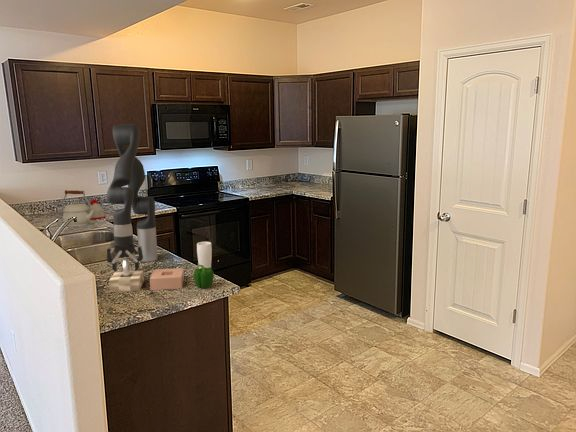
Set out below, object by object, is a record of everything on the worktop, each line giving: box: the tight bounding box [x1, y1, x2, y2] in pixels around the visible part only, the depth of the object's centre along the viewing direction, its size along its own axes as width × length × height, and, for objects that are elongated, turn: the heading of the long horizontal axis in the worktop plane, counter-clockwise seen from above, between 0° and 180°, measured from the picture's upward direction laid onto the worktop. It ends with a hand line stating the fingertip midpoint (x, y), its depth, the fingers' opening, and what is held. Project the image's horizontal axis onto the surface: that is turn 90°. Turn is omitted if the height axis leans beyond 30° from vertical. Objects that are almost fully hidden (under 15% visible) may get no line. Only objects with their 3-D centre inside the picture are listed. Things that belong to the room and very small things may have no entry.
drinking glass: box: [196, 241, 213, 269], centre depth 207 cm, size 7×7×15 cm
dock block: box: [149, 267, 185, 291], centre depth 195 cm, size 13×13×5 cm
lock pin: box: [121, 258, 131, 277], centre depth 191 cm, size 3×3×12 cm
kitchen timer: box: [87, 198, 106, 221], centre depth 343 cm, size 14×14×15 cm
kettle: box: [60, 189, 95, 228], centre depth 318 cm, size 25×18×25 cm
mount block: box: [108, 270, 145, 293], centre depth 192 cm, size 12×12×5 cm
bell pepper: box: [193, 264, 215, 289], centre depth 191 cm, size 8×8×10 cm
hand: (126, 270), depth 191 cm, fingers open, 8 cm apart
